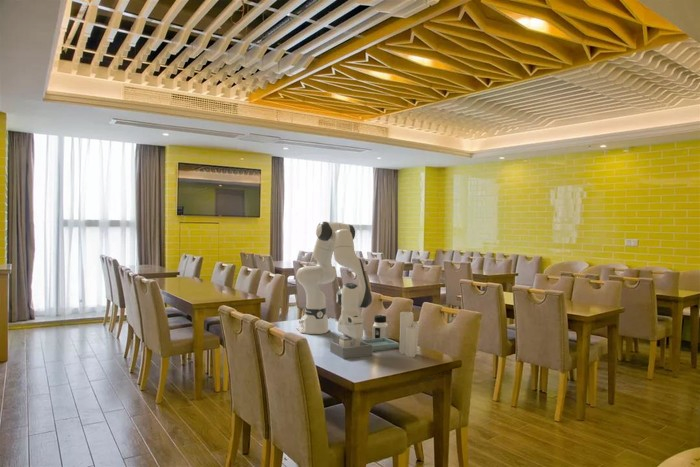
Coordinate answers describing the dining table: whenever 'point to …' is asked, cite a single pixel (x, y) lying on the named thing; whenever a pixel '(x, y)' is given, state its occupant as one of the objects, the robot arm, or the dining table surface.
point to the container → (379, 327)
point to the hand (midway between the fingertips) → (349, 344)
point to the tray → (381, 344)
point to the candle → (408, 334)
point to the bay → (351, 350)
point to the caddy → (347, 341)
